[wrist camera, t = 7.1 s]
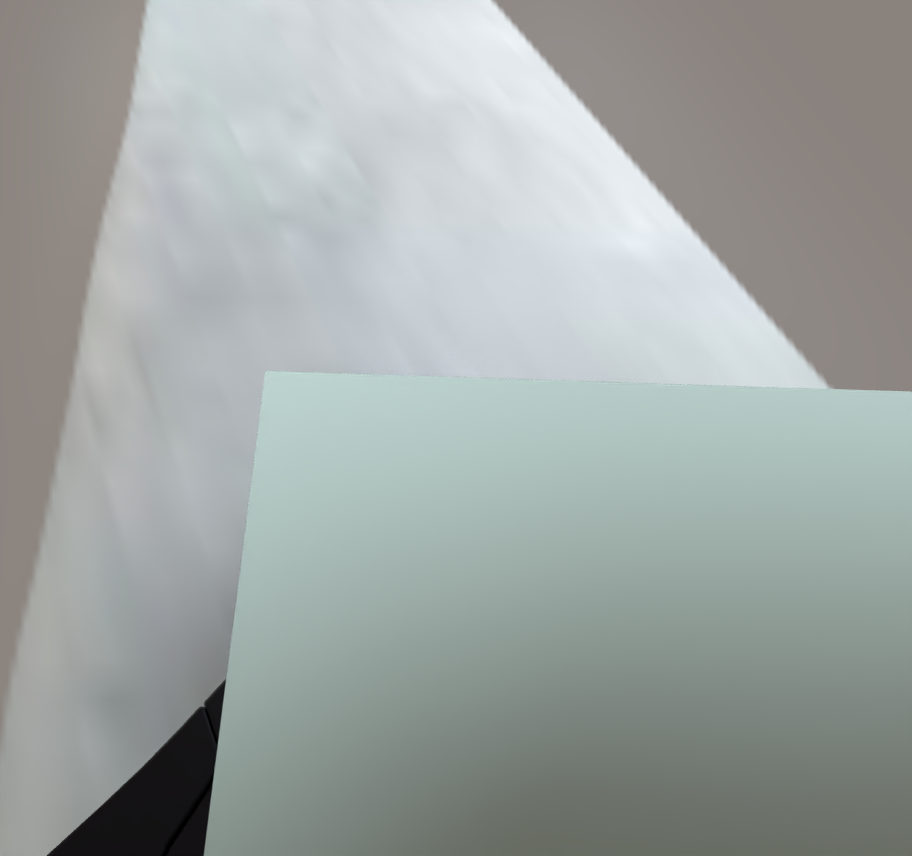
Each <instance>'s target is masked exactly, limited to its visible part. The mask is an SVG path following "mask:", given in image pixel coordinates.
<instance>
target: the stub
mask: <svg viewBox="0 0 912 856" xmlns="http://www.w3.org/2000/svg"><path fill="white" fill-rule="evenodd" d="M204 856H912V392H903V391H872V390H871V391H870V390H839V389H810V388H779V387H747V386H716V385H685V384H654V383H623V382H591V381H560V380H529V379H498V378H467V377H435V376H404V375H373V374H342V373H311V372H279V371H265V379H264V387H263V395H262V402H261V410H260V418H259V426H258V434H257V442H256V450H255V457H254V465H253V473H252V481H251V489H250V497H249V504H248V512H247V520H246V528H245V536H244V544H243V551H242V559H241V567H240V575H239V583H238V591H237V599H236V606H235V614H234V622H233V630H232V638H231V646H230V653H229V661H228V669H227V677H226V685H225V693H224V701H223V708H222V716H221V724H220V732H219V740H218V748H217V756H216V763H215V771H214V779H213V787H212V795H211V803H210V810H209V818H208V826H207V834H206V842H205V850H204Z"/></svg>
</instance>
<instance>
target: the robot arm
mask: <svg viewBox="0 0 912 856" xmlns="http://www.w3.org/2000/svg"><path fill="white" fill-rule="evenodd" d="M225 685H226V679H225V680H224V681H223V683H222V684H221V685H220V686H219V687H218V688H217V689H216V690H215V691H214V692H213V693H212V694H211V696H210V697H209V698H208V699H207V700H206V701H205V703H204V707H199V708H198V709H197V710H196V711H195V713H194V714H193V715H192V716H191V717H190V718H189V719H188V720H187V721H186V722H185V723H184V724H183V726H182V727H181V728H180V729H179V730H178V731H177V732H176V733H175V734H174V735H173V736H172V737H171V738H170V739H169V740H168V741H167V742H166V743H165V744H164V745H163V746H162V747H161V748H160V749H159V751H158V752H157V753H156V754H155V755H154V756H153V757H152V758H151V759H150V760H149V761H148V762H147V763H146V764H145V765H144V766H143V767H142V768H141V769H140V770H139V771H138V772H137V773H135V774H134V775H133V776H132V777H131V778H130V779H129V780H128V781H127V782H126V783H125V784H124V785H123V786H122V787H121V788H120V789H119V790H118V791H116V792H115V793H114V794H113V795H112V796H111V797H110V798H109V799H108V800H107V801H106V802H105V803H104V804H103V805H102V806H101V807H99V808H98V809H97V810H96V811H95V812H94V813H93V814H92V815H91V816H90V817H88V818H87V819H86V820H85V821H84V822H83V823H82V824H81V825H80V826H79V827H77V828H76V829H75V830H74V831H73V832H72V833H71V834H70V835H69V836H68V837H67V838H65V839H64V840H63V841H62V842H61V843H60V844H59V845H58V846H57V847H56V848H54V849H53V850H52V851H51V852H50V853H49V854H48V855H47V856H204V850H205V842H206V834H207V826H208V818H209V810H210V803H211V795H212V787H213V779H214V771H215V763H216V756H217V748H218V740H219V732H220V724H221V716H222V708H223V701H224V693H225Z"/></svg>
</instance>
